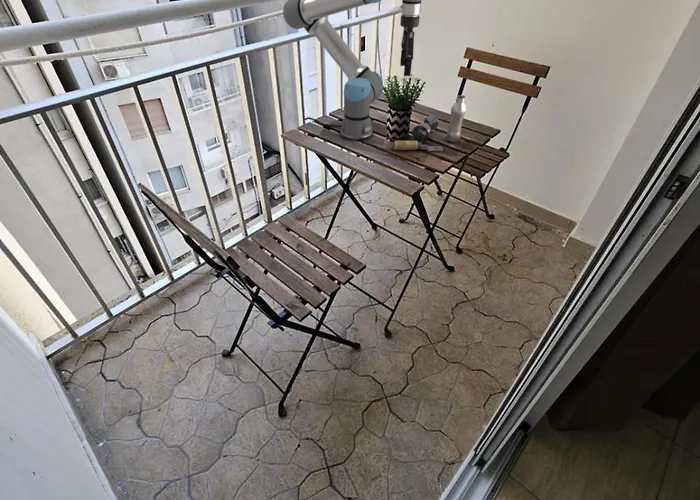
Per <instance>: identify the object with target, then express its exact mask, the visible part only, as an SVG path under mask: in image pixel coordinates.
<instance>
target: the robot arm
mask: <svg viewBox="0 0 700 500" xmlns="http://www.w3.org/2000/svg"><path fill="white" fill-rule="evenodd" d="M379 2H382V0H287V1H286V2H285V4H284V5H283V9H282V16H283V19H284V21H285V23H286V24H287V25H288V26H289V28H292V29H295V30H301V29H304V30H305V31H306V32H307V34H308V35H312V36H314V37H315V38H316V39H317V41H318V42H319V43H320V44H321V46H322V47H323V48H324V49H325V51H326V52H327V53H328V54H329V56H330V57H331V59H333V61H334V62H335V63H336V64H337V66H338V67H339V68H340V70H341V71H342V72H343V74H344V75H345V76H346V77H347V79H348V80H347V81H346V82H345V83H344V87H343V88H344V89H343V119H342V122H341V124H330V123H329V124H328V123H324V122H321V121H319V120H318V119H315V118H313V117H310V116H307V117H305V118H304V119H303V120H304V121H307V120H310V121H313V122H316V123H318V124H319V125H321V126H324V127H331V128H340V130H339V131H340V136H341V137H342V138H344V139H346V140H350V141H364V140H367V139H370V138H371V137H372V136H373V133H374V129H373V125H372V122H371V118H370V114H371V104H373V103H374V102H375V101H376V100H377V99H378V98H379V97H380V95H381V94H382V92H383V90H384V80H383V78H382V76H381V74H379V73H378V72H377V71H372V69H370V67H369V66H368V65H363V64H362V62H361V61H360V60H359V59H358V57H357V56H356V55H355V53H354V52H353V51H352V50H351V48H350V47H349V45H348V44H347V43H346V42H345V41H344V39H343V38H342V37H341V36H340V34H339V32H337V29H335V28H334V26H333V25H332V24H331V22H330V21H329V16H332V15H335V14H339V13H342V12H346V11H350V10H352V9H356V8H359V7H364V6H366V5H371V4H376V3H379ZM401 2H402V4H401V5H400V6H399V7H400V9H401V11H400V14H401V15H400V24H399V25H400V26H401V27H402V28H403V31H402V38H401V44H400V46H401V51H400V61H399V66H400V67H404V68H403V77H410V76H411V72H412V64H413V60H414V48H415V47H414V46H415V44H414V43H415V35H416V34H415V32H414V28H417V27H419V26H420V19H421V18H420V17H421V16H420V15H421V8H422V0H401ZM304 177H305V186H308V174H307V172H304Z"/></svg>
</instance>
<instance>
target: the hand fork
mask: <svg viewBox="0 0 700 500" xmlns="http://www.w3.org/2000/svg"><path fill="white" fill-rule="evenodd" d="M419 149H420V150H426V152H444V148H443V146H441V145H437V146H436V145H435V146H433V145H432V146H431V145H428V144H422V143H421V142H418V141H415V140H394V141H393V151H417V150H419Z"/></svg>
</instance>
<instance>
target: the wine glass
mask: <svg viewBox="0 0 700 500" xmlns="http://www.w3.org/2000/svg"><path fill="white" fill-rule="evenodd" d="M438 126H439V119H438V118H437V117H436V116H435V115H432V114H430V115H427V116H425V117H424V120H423V122H421V123H418V124H417V125H415V126H414V127H413V129H412V131H411V136H412V139H413V141H418V142H421V144H423V143H426V142H427V141H428V139H429V138H430V137H431V134H432V131H434V130H437V128H438Z"/></svg>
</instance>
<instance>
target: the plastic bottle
mask: <svg viewBox="0 0 700 500" xmlns="http://www.w3.org/2000/svg"><path fill="white" fill-rule="evenodd" d="M465 102H466V96H465V95H463V94H462V95H461V94H460V95H457V96H456V97H455V102H454V103H453V104H452V106H451V108H450V120H449V125H448V127H447V131H446V133H445V138H446V140H447V141H448V142H450V143H455V142H458V141H459V140H460V138H461V136H462V125H463V121H464V118H465V115H466V112H467V105H466V104H465Z"/></svg>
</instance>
